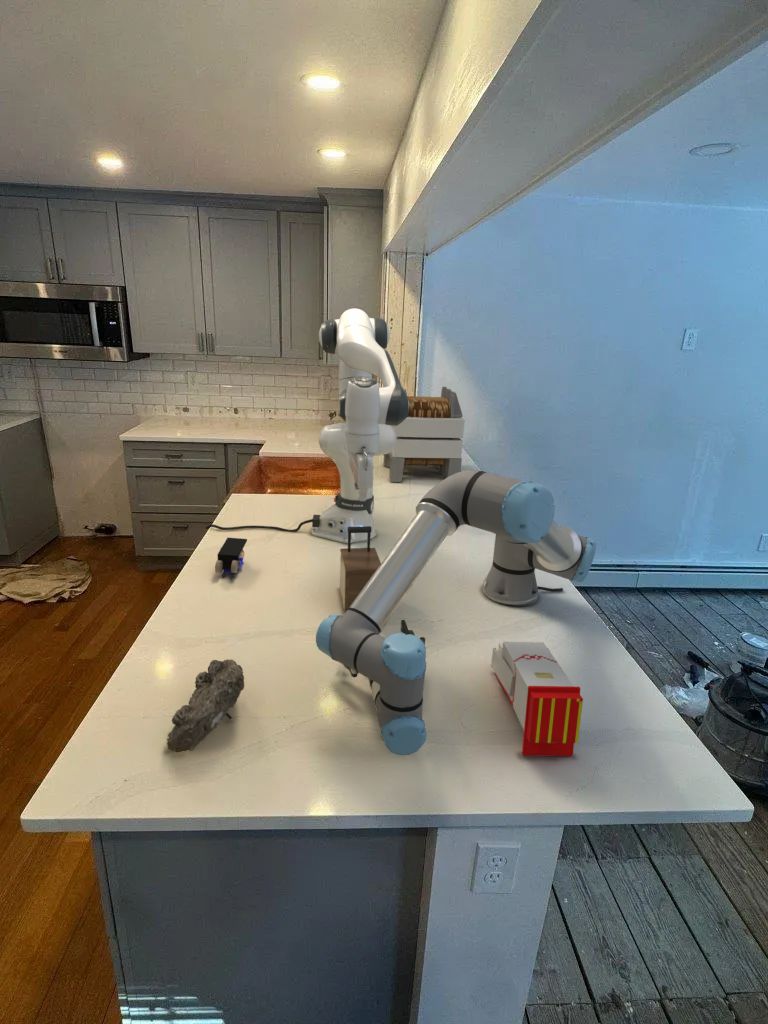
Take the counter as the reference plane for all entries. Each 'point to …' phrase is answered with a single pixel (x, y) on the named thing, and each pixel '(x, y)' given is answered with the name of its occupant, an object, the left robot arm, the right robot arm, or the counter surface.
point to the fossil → (206, 705)
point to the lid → (359, 554)
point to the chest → (351, 585)
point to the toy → (539, 697)
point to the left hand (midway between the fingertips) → (360, 494)
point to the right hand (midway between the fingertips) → (373, 626)
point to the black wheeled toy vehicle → (230, 556)
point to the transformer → (428, 436)
